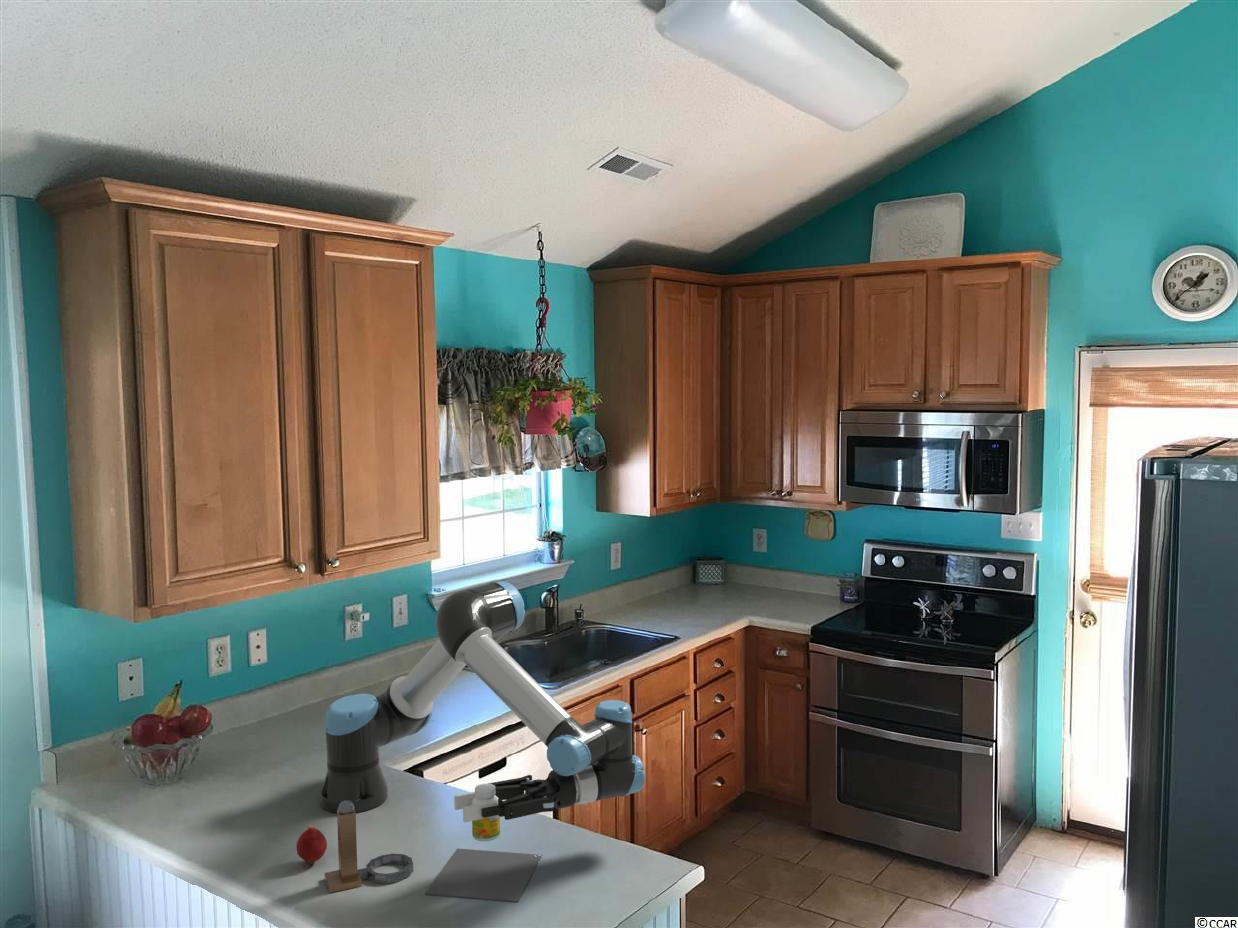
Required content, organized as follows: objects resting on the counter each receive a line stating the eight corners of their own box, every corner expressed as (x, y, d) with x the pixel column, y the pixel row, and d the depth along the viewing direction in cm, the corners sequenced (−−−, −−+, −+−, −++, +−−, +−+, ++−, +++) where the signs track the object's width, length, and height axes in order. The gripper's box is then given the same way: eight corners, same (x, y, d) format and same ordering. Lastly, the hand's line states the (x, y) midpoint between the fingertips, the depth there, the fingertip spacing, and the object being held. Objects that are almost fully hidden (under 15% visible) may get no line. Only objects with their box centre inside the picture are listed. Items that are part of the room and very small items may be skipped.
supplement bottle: (466, 836, 189) (465, 788, 189) (487, 827, 193) (485, 779, 193) (485, 844, 186) (484, 795, 185) (506, 834, 190) (504, 786, 189)
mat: (457, 849, 201) (457, 848, 201) (541, 856, 198) (541, 854, 198) (425, 894, 183) (425, 892, 183) (517, 902, 180) (517, 900, 180)
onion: (330, 856, 199) (329, 818, 198) (322, 869, 193) (321, 830, 192) (301, 856, 198) (300, 818, 198) (293, 870, 193) (291, 831, 192)
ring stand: (345, 857, 198) (342, 780, 197) (419, 863, 195) (417, 785, 194) (312, 891, 185) (309, 809, 183) (392, 898, 182) (389, 815, 181)
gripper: (589, 822, 189) (473, 847, 179) (554, 787, 205) (447, 809, 196) (588, 784, 188) (472, 807, 178) (554, 753, 205) (446, 772, 195)
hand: (459, 808), depth 187 cm, fingers closed on supplement bottle, 5 cm apart
